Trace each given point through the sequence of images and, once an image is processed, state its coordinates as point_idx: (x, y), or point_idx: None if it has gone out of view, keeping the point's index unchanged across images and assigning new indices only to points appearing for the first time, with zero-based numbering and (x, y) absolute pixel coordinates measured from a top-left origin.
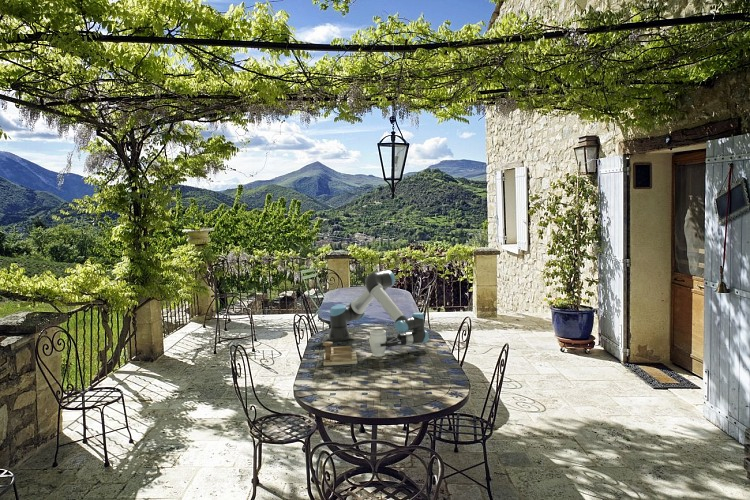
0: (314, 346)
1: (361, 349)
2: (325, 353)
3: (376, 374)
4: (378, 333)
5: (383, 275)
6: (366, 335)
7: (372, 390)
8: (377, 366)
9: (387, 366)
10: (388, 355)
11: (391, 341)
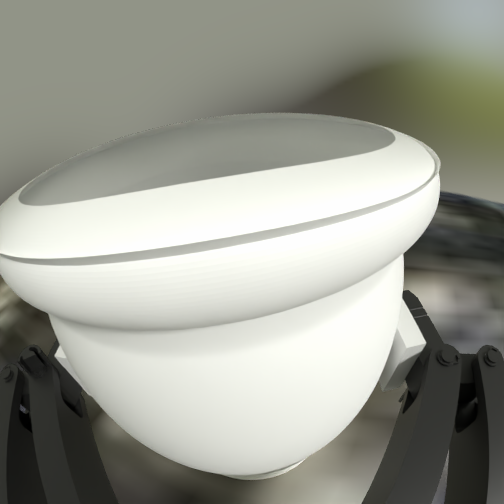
0: (460, 196)
1: (454, 315)
2: None
3: (7, 285)
4: (70, 158)
5: None
6: None
7: None
8: (45, 316)
9: (10, 349)
10: (184, 493)
11: (48, 485)
